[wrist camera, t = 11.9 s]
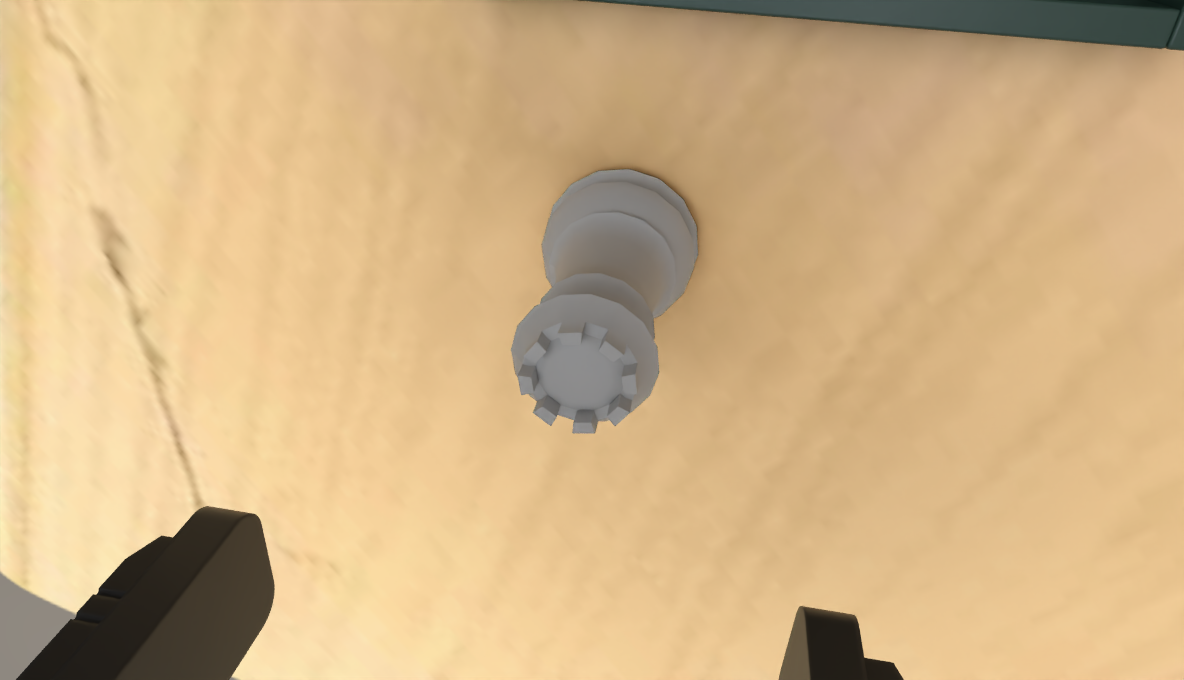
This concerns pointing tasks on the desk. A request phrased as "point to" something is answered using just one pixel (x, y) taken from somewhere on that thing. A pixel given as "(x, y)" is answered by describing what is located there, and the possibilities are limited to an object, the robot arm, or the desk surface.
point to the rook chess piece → (604, 297)
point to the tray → (980, 16)
